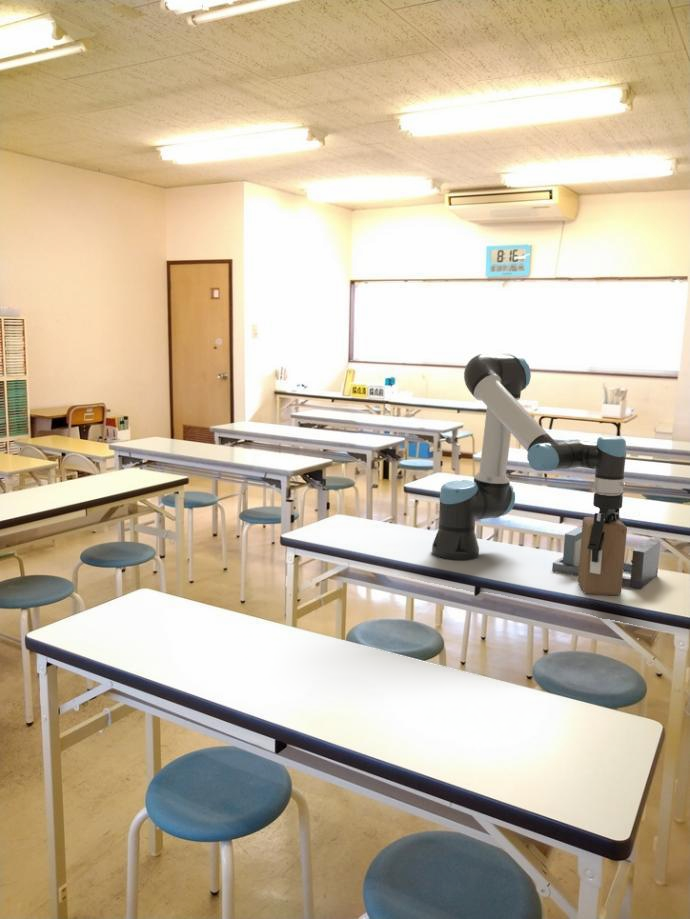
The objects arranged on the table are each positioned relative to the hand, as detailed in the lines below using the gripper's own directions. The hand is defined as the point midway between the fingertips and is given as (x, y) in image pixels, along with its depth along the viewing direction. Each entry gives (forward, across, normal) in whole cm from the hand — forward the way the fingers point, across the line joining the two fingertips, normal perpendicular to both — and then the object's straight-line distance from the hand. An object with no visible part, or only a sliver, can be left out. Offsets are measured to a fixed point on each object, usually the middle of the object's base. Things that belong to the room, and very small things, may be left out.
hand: (603, 567), depth 201 cm
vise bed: (+6, +16, +5) cm, 18 cm away
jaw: (+6, +16, +14) cm, 22 cm away
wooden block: (+7, 0, +1) cm, 7 cm away
